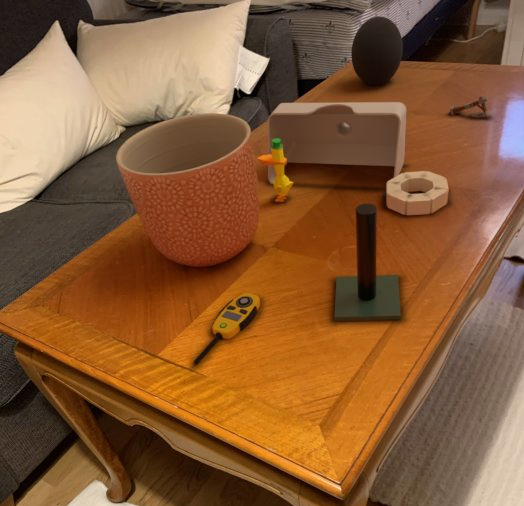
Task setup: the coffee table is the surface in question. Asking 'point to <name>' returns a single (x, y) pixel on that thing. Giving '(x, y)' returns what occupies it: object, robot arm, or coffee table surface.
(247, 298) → the yellow handheld probe meter
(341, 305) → the peg stand
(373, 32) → the decorative egg
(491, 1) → the robot arm
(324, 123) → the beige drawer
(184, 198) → the planter
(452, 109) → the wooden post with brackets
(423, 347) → the coffee table surface
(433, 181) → the ring
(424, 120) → the coffee table surface
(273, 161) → the toy figure
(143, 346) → the coffee table surface
